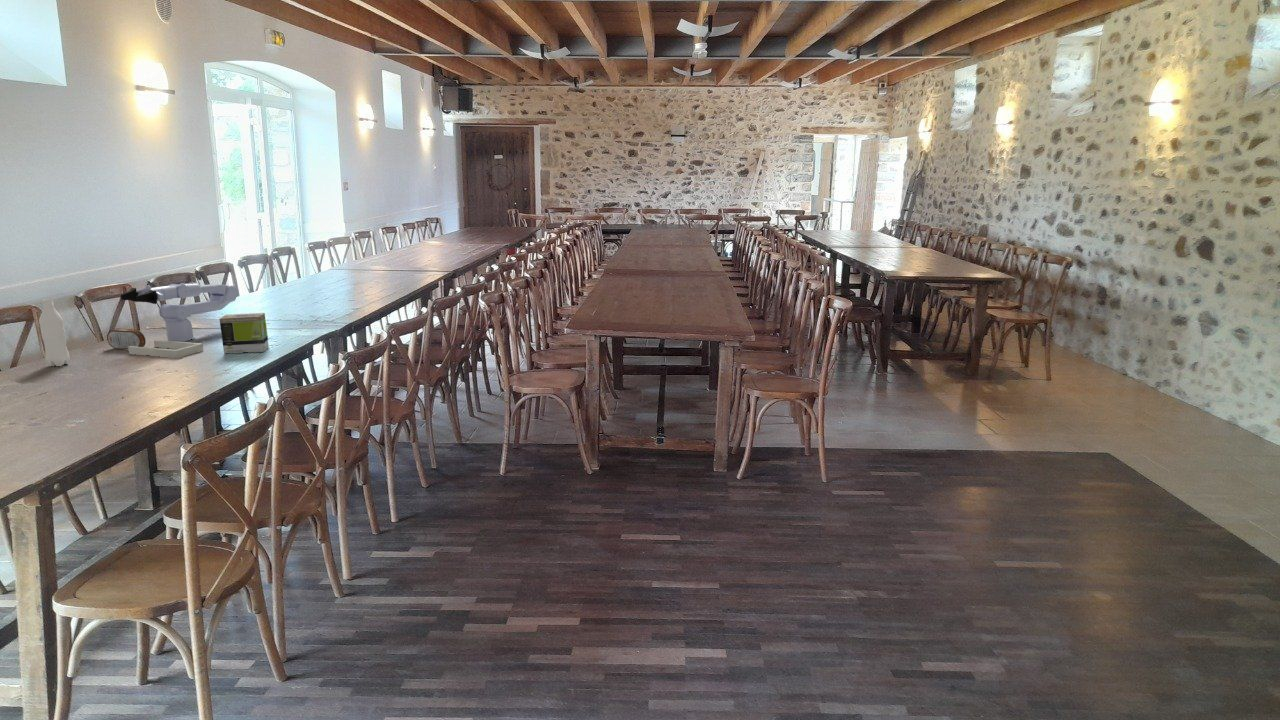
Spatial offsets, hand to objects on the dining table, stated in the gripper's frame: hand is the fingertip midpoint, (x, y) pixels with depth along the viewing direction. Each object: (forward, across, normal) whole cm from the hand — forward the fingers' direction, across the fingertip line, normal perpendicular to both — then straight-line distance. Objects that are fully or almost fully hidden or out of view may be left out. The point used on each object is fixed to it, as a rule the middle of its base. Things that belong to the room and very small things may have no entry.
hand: (129, 298), depth 301 cm
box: (-2, +13, +21) cm, 25 cm away
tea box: (-15, +41, +20) cm, 48 cm away
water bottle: (+26, -6, +23) cm, 35 cm away
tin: (-2, -6, +22) cm, 23 cm away
